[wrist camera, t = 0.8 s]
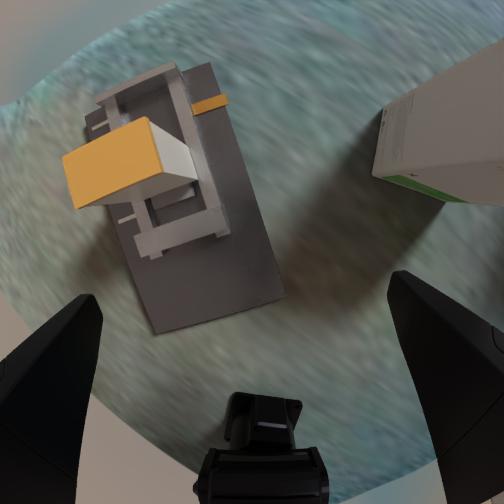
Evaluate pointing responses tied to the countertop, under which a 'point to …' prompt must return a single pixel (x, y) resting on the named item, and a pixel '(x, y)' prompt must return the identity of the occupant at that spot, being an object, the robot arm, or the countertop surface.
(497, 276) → the countertop surface
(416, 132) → the skincare box
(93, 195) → the fader
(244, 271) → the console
